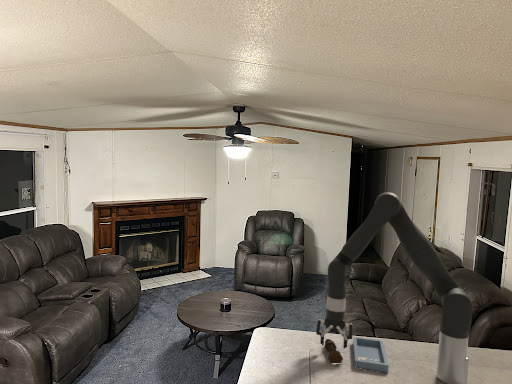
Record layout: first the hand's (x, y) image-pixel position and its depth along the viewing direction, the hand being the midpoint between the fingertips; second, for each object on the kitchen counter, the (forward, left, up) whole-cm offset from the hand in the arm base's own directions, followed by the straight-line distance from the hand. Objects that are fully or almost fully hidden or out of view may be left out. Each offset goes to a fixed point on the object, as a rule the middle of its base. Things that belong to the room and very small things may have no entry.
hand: (333, 346), depth 151 cm
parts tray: (-14, -2, -3) cm, 15 cm away
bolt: (0, +1, -4) cm, 4 cm away
